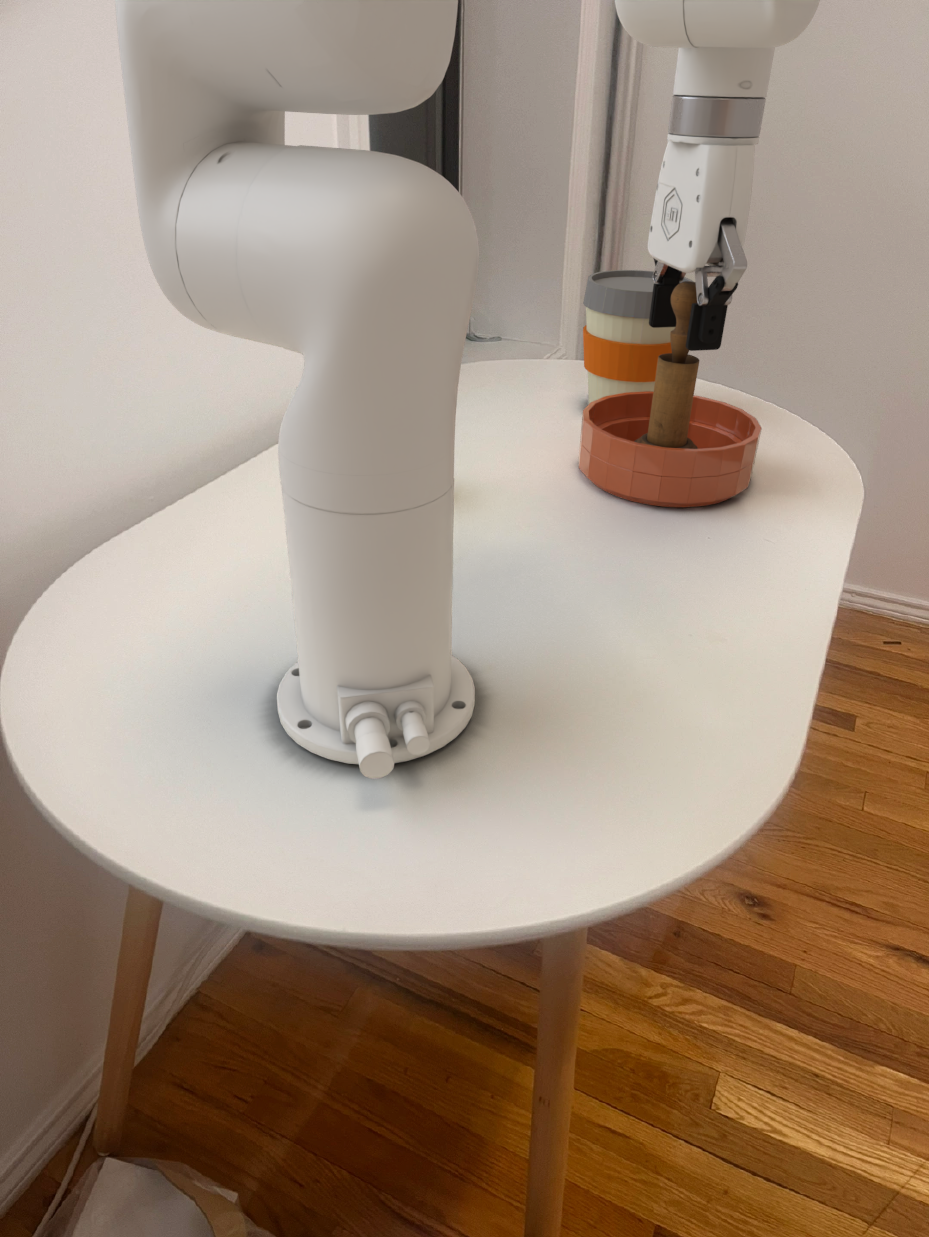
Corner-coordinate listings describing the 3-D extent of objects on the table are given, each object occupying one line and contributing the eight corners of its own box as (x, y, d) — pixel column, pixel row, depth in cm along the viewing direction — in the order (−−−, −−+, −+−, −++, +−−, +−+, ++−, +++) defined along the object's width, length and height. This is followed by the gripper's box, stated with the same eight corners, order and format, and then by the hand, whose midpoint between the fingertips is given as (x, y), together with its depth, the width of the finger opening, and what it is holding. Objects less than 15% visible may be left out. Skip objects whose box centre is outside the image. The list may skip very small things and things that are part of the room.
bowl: (781, 503, 85) (795, 444, 82) (613, 517, 81) (621, 456, 78) (701, 440, 99) (710, 387, 96) (556, 450, 96) (560, 395, 92)
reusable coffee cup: (679, 399, 111) (699, 274, 103) (675, 432, 101) (696, 296, 93) (581, 389, 114) (592, 266, 106) (566, 420, 104) (578, 287, 96)
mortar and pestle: (691, 457, 92) (721, 277, 83) (699, 482, 87) (732, 291, 77) (627, 454, 93) (650, 274, 83) (631, 478, 87) (656, 288, 78)
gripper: (632, 117, 80) (611, 317, 89) (722, 129, 66) (685, 365, 75) (708, 118, 81) (680, 314, 91) (812, 130, 67) (765, 362, 76)
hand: (682, 336), depth 83 cm, fingers open, 7 cm apart
